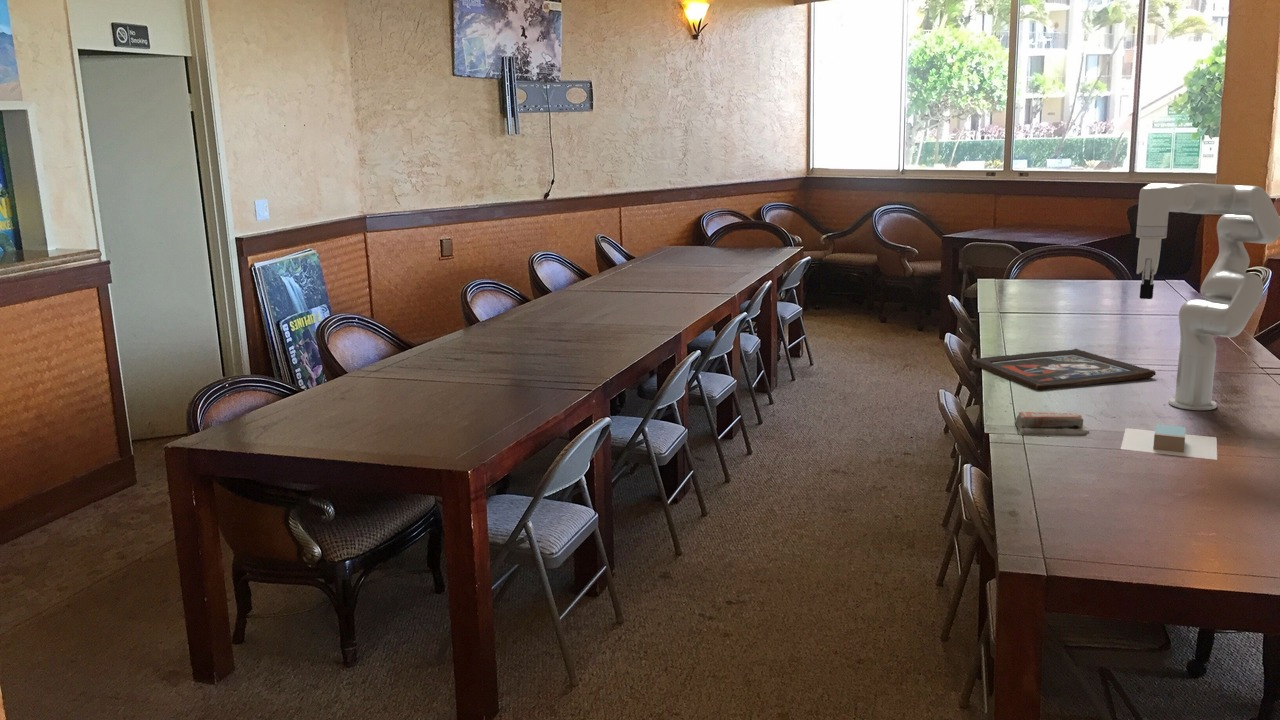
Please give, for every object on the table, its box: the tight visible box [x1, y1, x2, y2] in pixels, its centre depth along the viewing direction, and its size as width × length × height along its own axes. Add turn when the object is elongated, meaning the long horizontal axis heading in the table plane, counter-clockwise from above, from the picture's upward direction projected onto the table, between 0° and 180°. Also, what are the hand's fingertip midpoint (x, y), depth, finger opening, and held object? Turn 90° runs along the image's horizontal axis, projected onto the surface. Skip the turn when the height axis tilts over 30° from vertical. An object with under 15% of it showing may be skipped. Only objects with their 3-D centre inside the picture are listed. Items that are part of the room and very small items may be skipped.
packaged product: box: [1014, 411, 1090, 435], centre depth 287 cm, size 18×5×10 cm
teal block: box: [1153, 423, 1187, 453], centre depth 268 cm, size 4×7×10 cm
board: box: [1120, 427, 1218, 461], centre depth 270 cm, size 20×22×1 cm
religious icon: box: [971, 348, 1157, 391], centre depth 349 cm, size 40×45×3 cm
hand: (1146, 298), depth 285 cm, fingers closed
